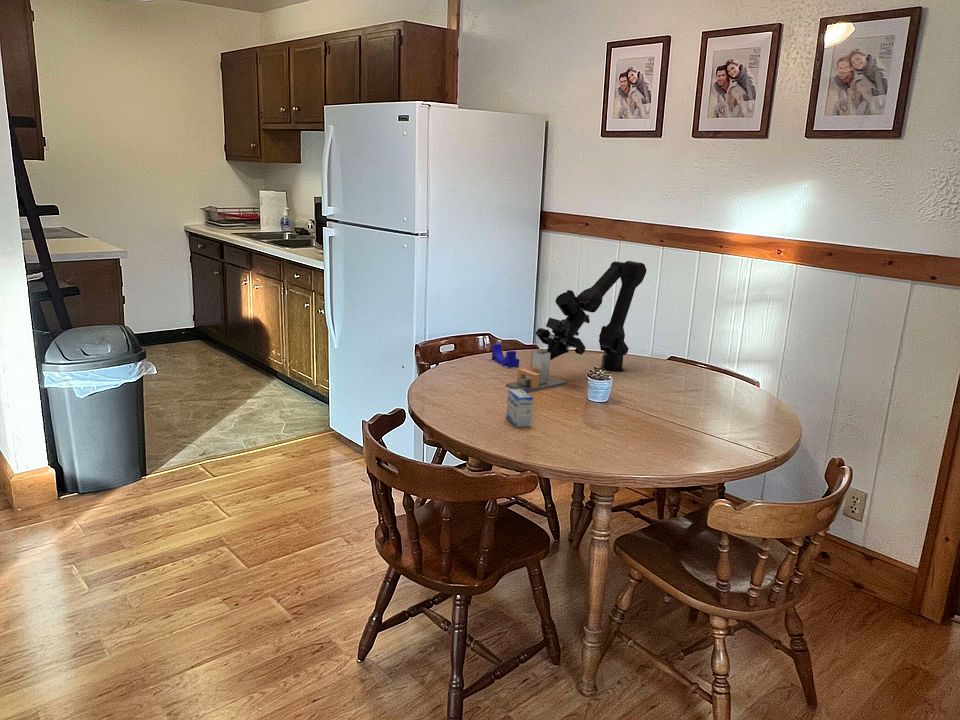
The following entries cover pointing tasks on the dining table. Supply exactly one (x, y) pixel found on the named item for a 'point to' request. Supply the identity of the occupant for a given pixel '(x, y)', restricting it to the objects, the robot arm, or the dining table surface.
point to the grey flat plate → (551, 383)
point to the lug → (533, 375)
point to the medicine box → (519, 408)
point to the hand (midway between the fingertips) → (546, 360)
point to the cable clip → (505, 361)
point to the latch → (539, 367)
